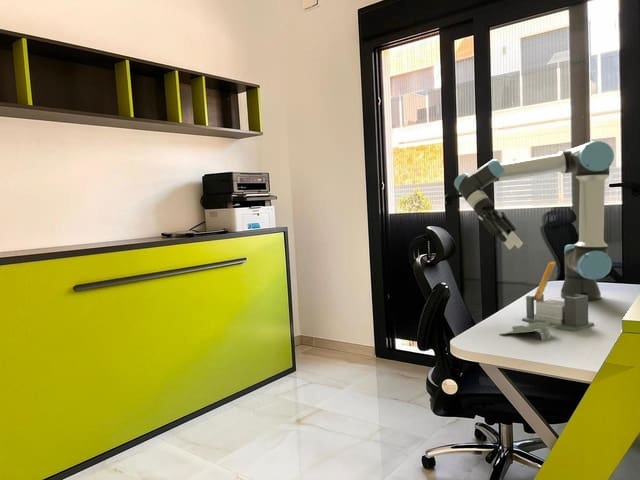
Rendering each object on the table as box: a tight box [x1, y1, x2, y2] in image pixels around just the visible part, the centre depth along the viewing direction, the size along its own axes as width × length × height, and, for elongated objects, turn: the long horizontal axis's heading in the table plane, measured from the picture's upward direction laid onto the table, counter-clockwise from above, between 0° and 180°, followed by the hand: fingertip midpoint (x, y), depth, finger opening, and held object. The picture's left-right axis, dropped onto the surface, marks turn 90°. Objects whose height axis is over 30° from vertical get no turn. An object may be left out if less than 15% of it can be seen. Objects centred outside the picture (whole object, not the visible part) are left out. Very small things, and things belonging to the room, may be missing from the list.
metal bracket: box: [498, 321, 556, 342], centre depth 157 cm, size 14×6×15 cm
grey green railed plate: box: [521, 314, 595, 332], centre depth 169 cm, size 19×12×1 cm, turn 29°
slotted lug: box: [563, 294, 589, 327], centre depth 163 cm, size 4×7×10 cm, turn 119°
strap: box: [534, 261, 557, 301], centre depth 172 cm, size 16×3×1 cm
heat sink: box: [525, 293, 565, 325], centre depth 171 cm, size 14×9×8 cm, turn 29°
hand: (516, 246), depth 182 cm, fingers open, 4 cm apart
